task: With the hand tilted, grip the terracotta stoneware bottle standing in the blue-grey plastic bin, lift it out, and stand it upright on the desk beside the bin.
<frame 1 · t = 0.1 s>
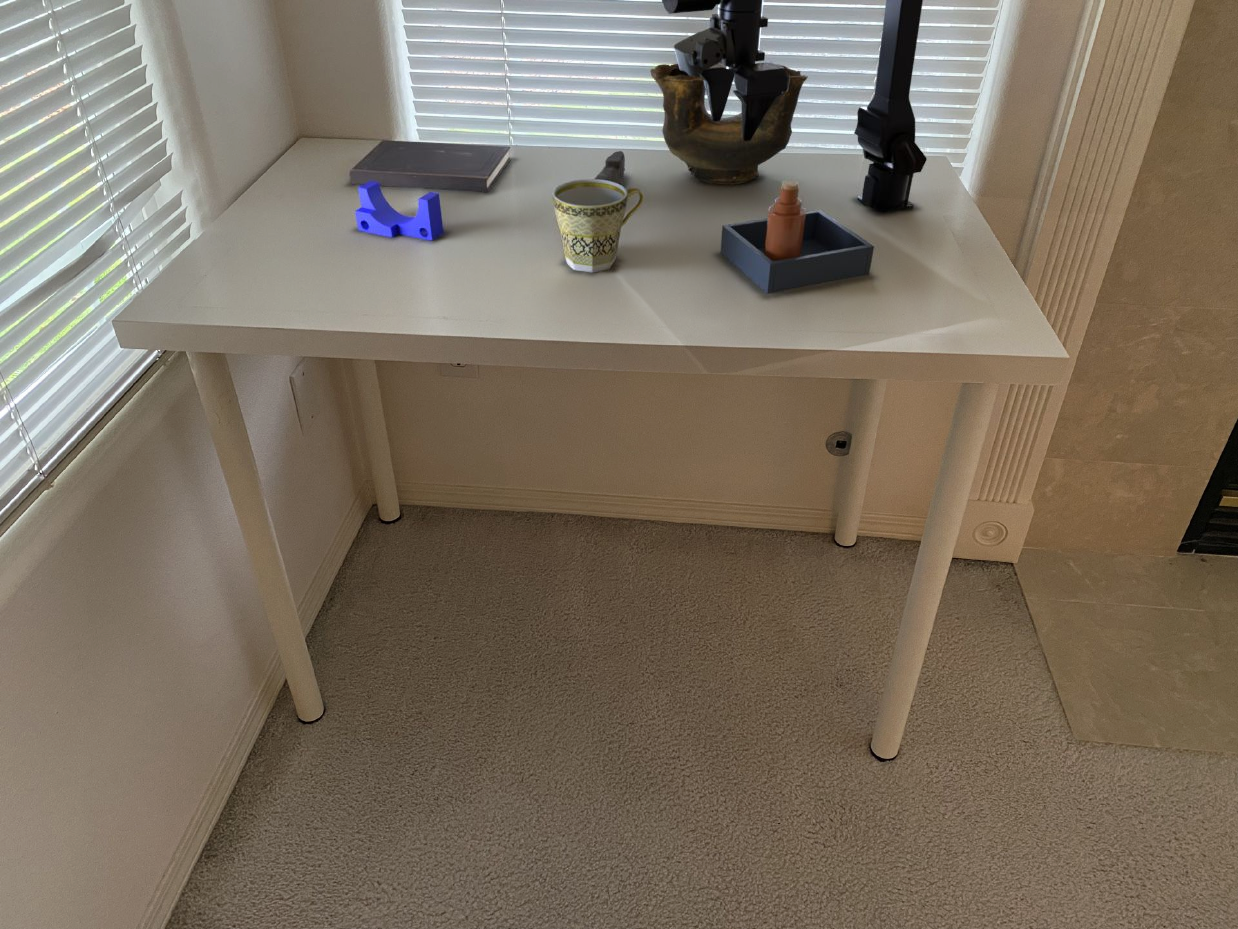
hand: (731, 130, 130), 15 cm above the table, tool pointing down, fingers open, 9 cm apart
hand tool: (602, 195, 150), on the table
blue mounting bracket: (401, 233, 138), on the table
pottery vessel: (722, 176, 158), on the table
ceramic cup: (600, 261, 131), on the table
hardcover book: (433, 173, 158), on the table
bottle: (779, 274, 126), resting on bin
bin: (792, 266, 129), on the table
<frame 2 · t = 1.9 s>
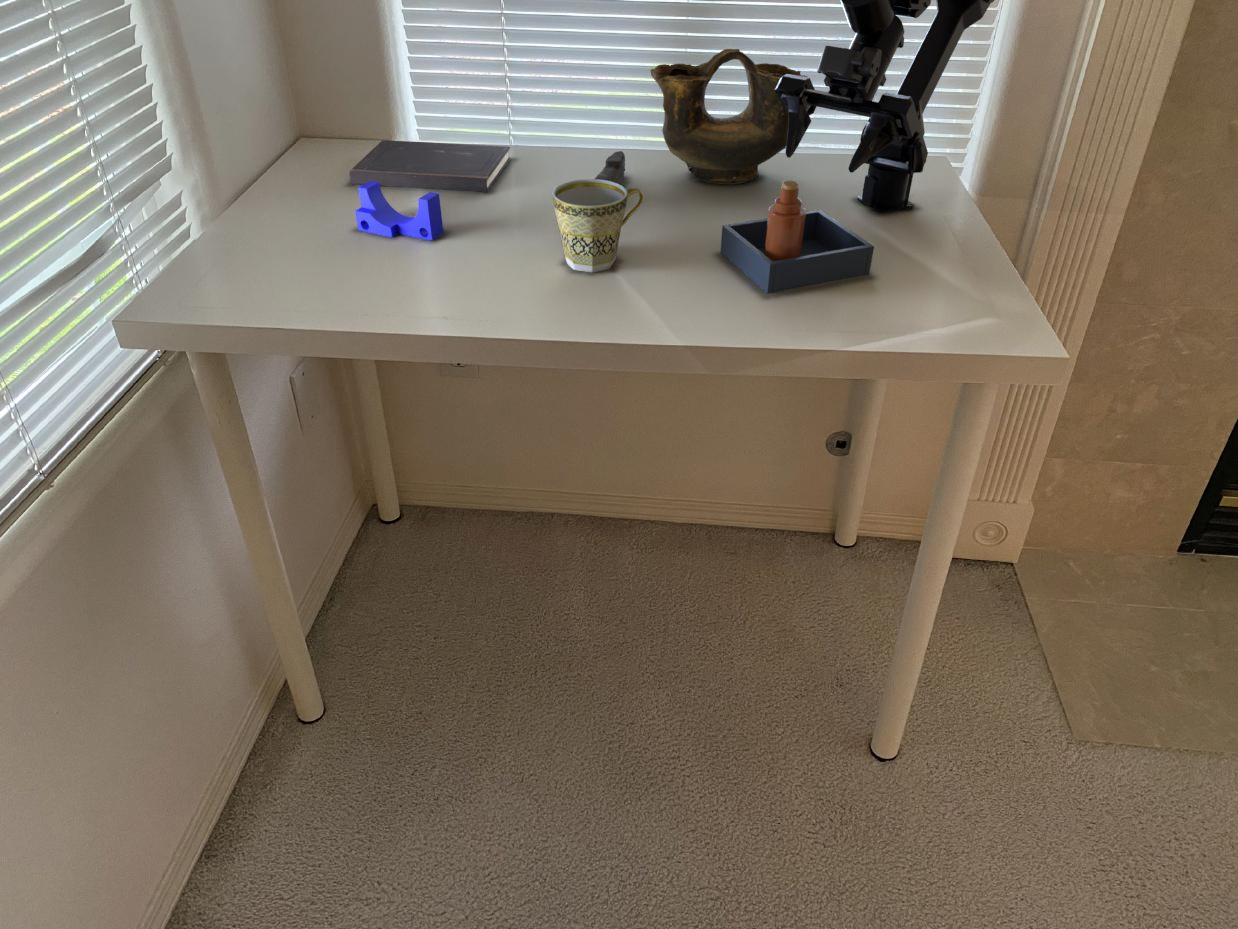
hand: (818, 163, 123), 13 cm above the table, tool tilted 45°, fingers open, 9 cm apart
nothing on the table moved.
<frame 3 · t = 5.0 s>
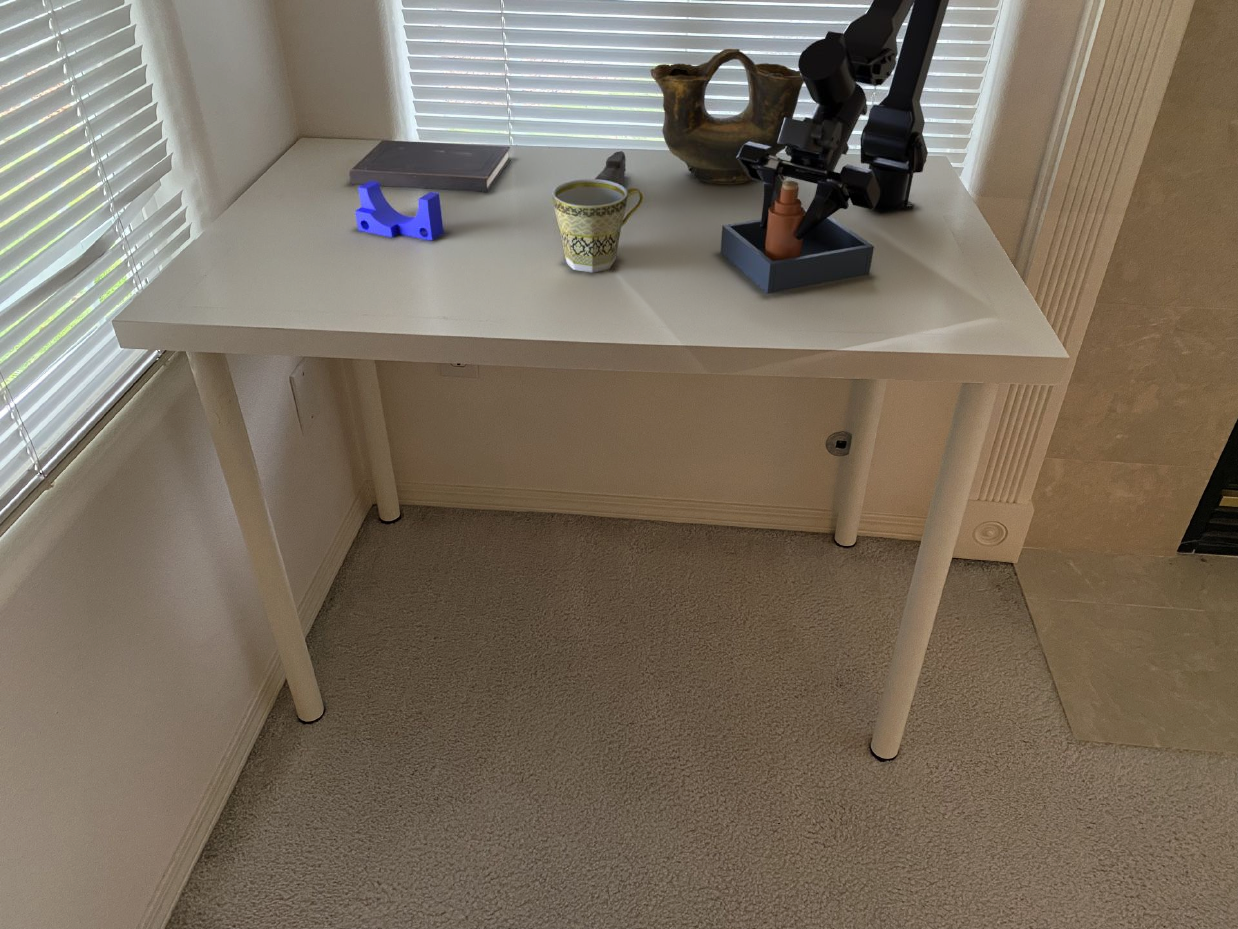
hand: (779, 233, 121), 7 cm above the table, tool tilted 45°, fingers closed on bottle, 5 cm apart
bottle: (780, 274, 126), point 1 cm above the table, touching bin, gripper
everything else where it was.
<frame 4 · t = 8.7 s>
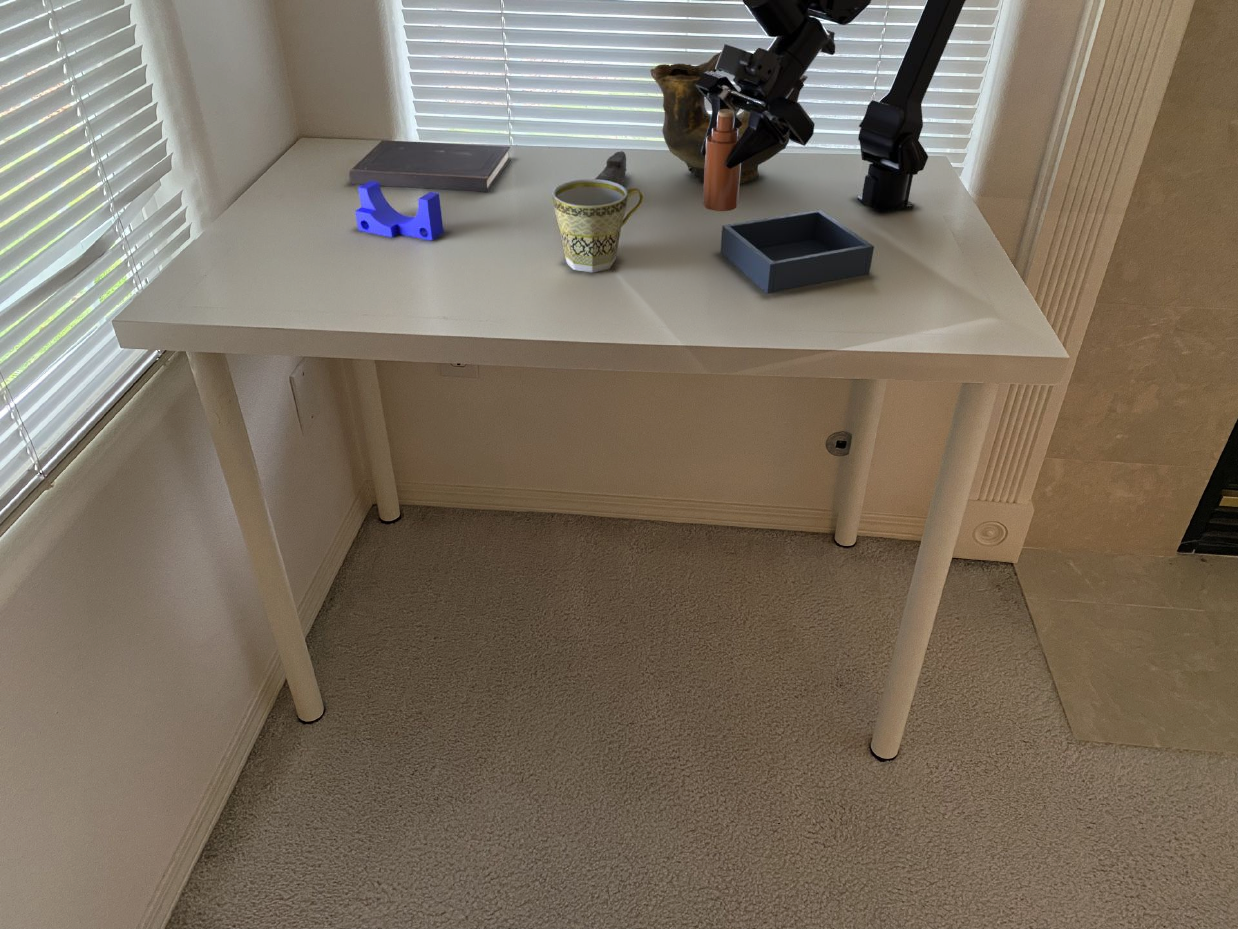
hand: (714, 161, 124), 13 cm above the table, tool tilted 45°, fingers closed on bottle, 5 cm apart
bottle: (720, 204, 128), point 7 cm above the table, touching gripper
everything else where it was.
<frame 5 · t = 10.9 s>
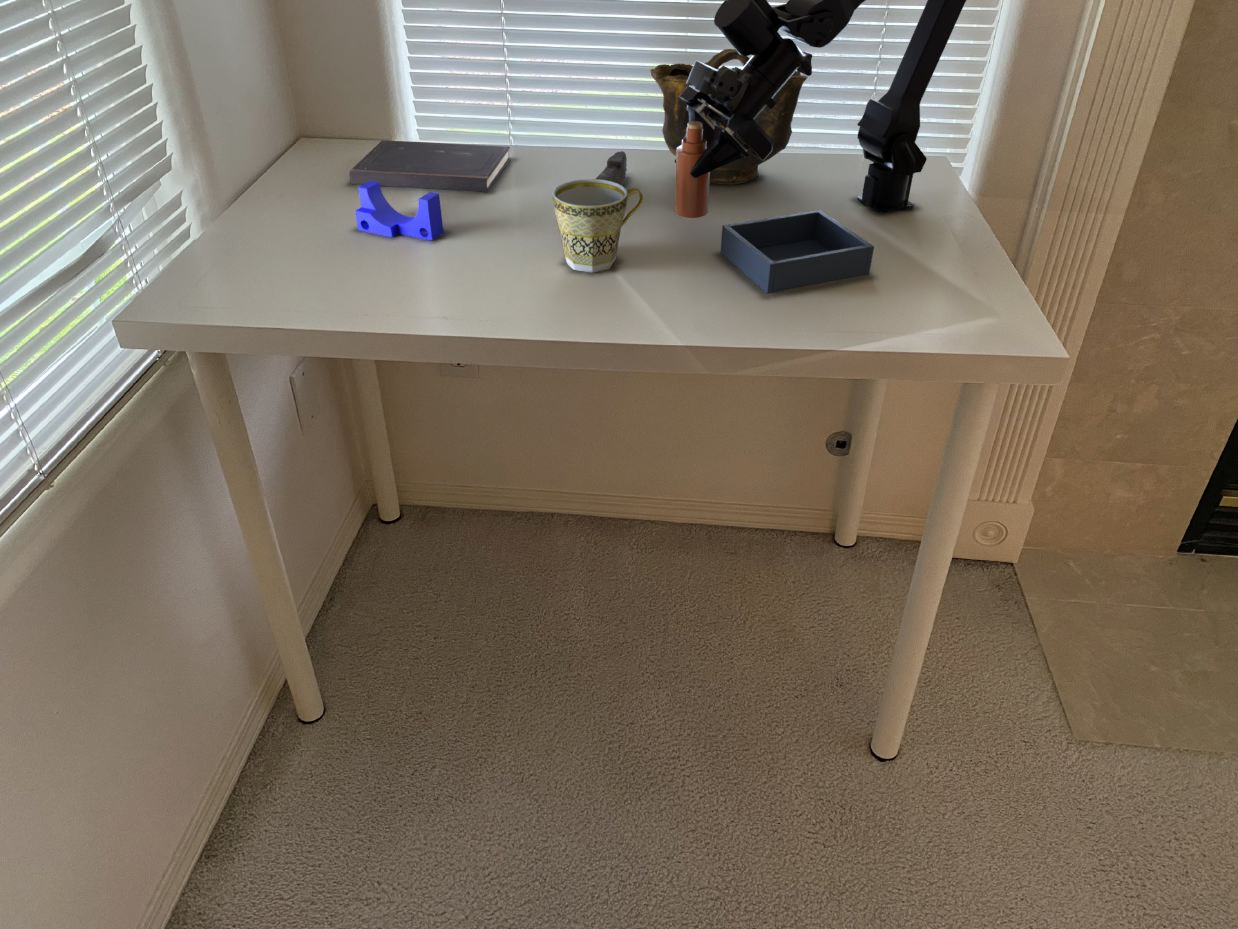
hand: (684, 169, 131), 10 cm above the table, tool tilted 45°, fingers closed on bottle, 5 cm apart
bottle: (691, 211, 135), point 4 cm above the table, touching gripper
everything else where it was.
when the fingers open (6 cm above the table, at t = 12.4 s): bottle stays where it is, on the table.
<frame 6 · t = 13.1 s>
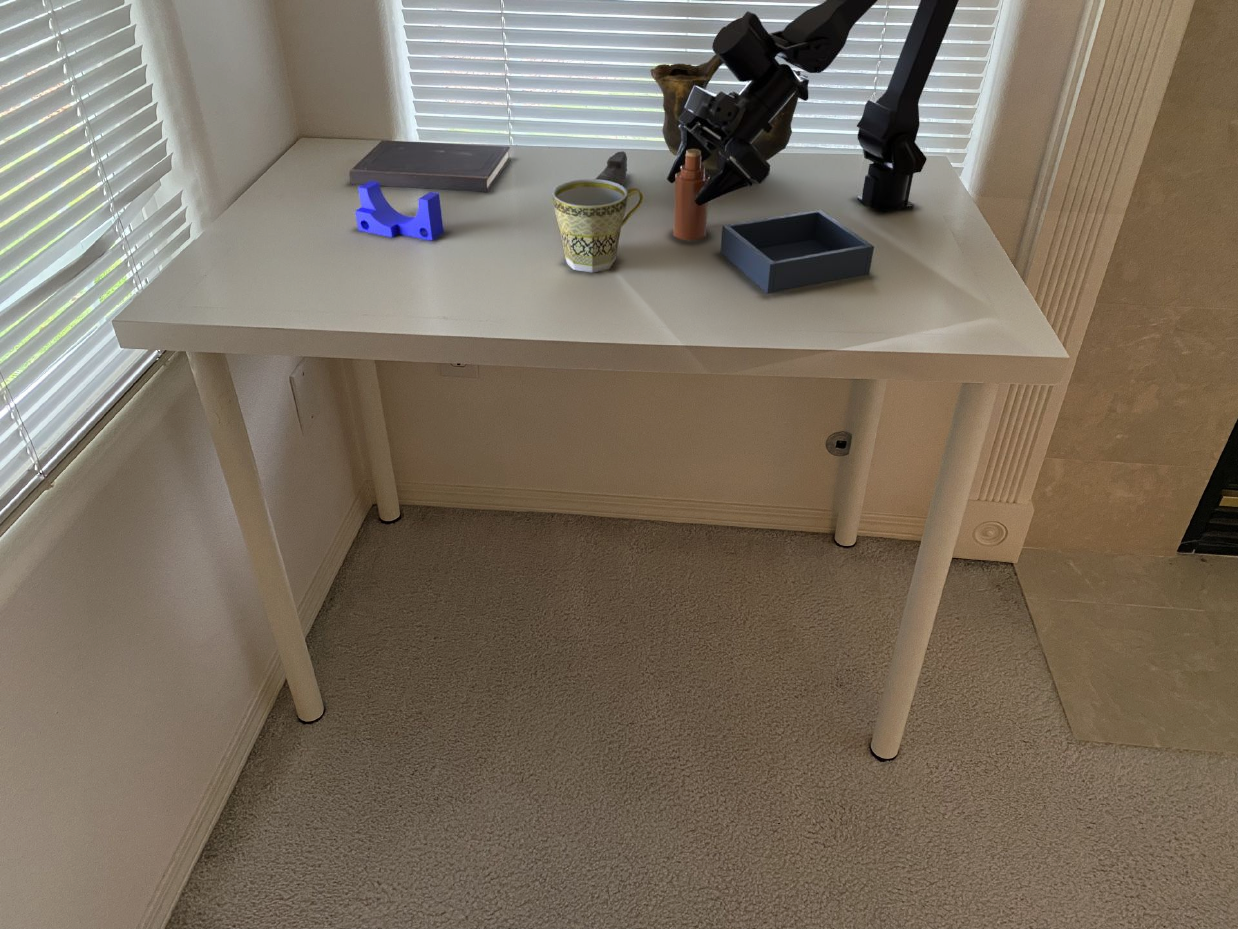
hand: (682, 192, 133), 7 cm above the table, tool tilted 45°, fingers open, 9 cm apart
bottle: (689, 236, 137), on the table
everything else where it was.
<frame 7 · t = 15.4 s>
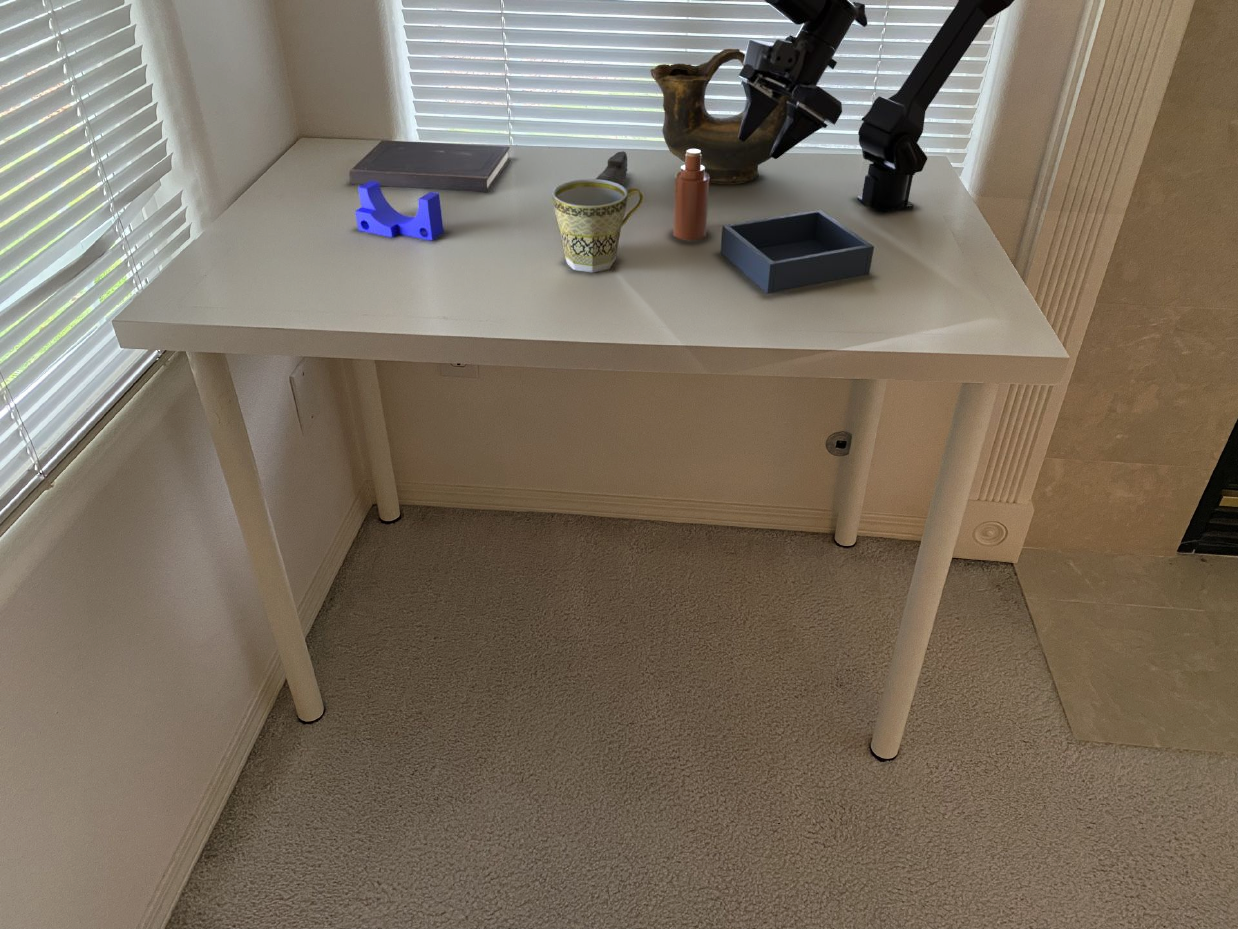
hand: (756, 148, 131), 12 cm above the table, tool tilted 30°, fingers open, 9 cm apart
nothing on the table moved.
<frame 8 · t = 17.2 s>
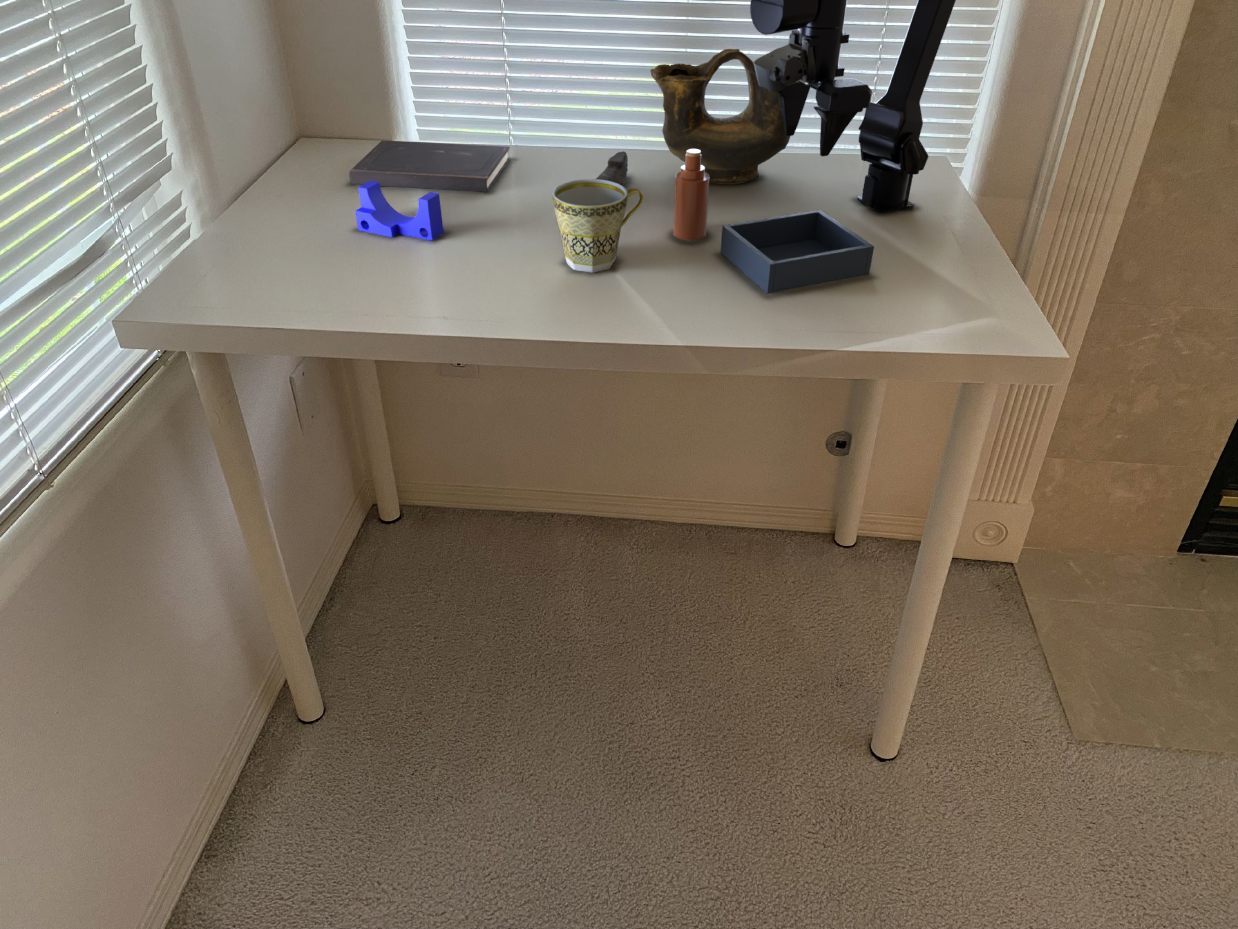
hand: (806, 145, 130), 13 cm above the table, tool pointing down, fingers open, 9 cm apart
nothing on the table moved.
at the end: bottle inside the target area (0.0 cm from its centre), on the table; bottle tilted 0°; the gripper is holding nothing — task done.
